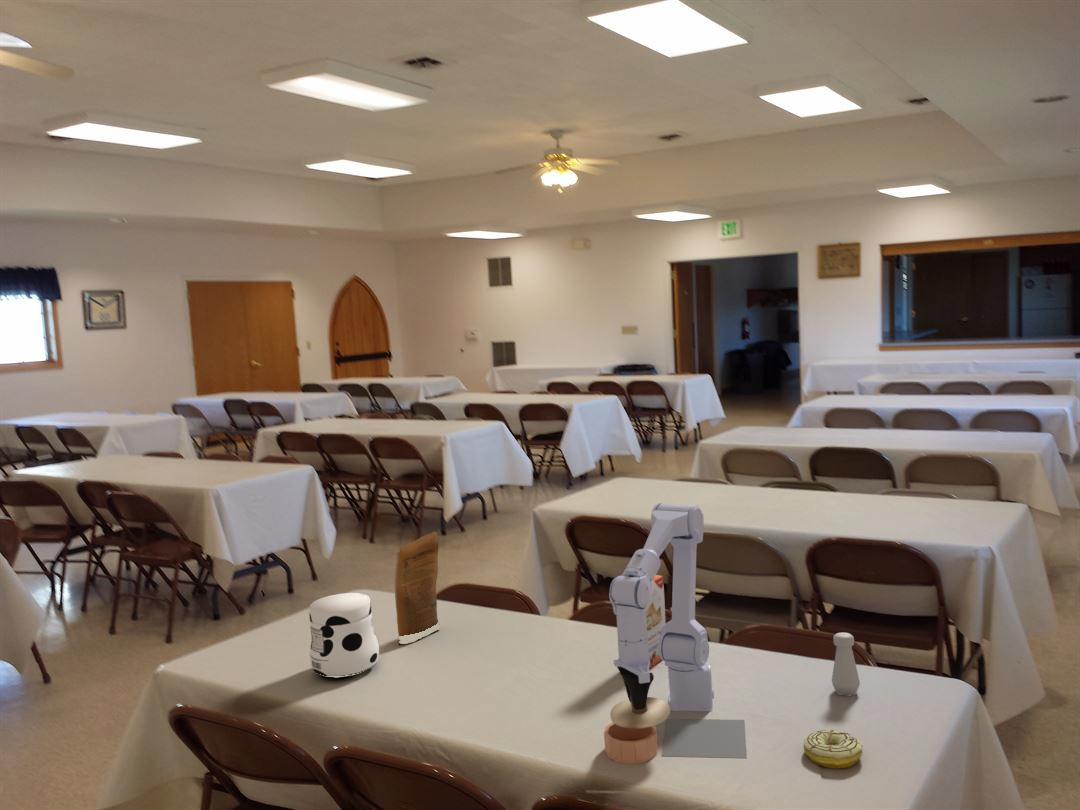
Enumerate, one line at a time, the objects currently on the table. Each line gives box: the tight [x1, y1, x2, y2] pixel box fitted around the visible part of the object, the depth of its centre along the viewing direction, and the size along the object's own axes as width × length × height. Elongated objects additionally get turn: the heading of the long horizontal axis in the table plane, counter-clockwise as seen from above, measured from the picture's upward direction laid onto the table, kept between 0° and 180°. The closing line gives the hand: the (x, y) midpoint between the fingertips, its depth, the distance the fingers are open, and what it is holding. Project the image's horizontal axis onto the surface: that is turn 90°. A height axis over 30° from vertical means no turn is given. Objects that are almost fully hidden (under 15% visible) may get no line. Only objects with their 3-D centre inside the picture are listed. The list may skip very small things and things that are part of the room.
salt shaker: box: [831, 632, 861, 696], centre depth 196 cm, size 6×6×13 cm
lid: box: [610, 695, 671, 729], centre depth 176 cm, size 12×12×4 cm
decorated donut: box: [803, 728, 864, 770], centre depth 169 cm, size 10×11×4 cm
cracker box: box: [615, 574, 667, 670], centre depth 219 cm, size 14×6×21 cm, turn 143°
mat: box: [661, 718, 748, 759], centre depth 180 cm, size 16×16×1 cm
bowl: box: [603, 721, 658, 764], centre depth 177 cm, size 10×10×4 cm
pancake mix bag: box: [394, 531, 439, 637], centre depth 251 cm, size 7×19×28 cm, turn 144°
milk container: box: [308, 592, 380, 676], centre depth 231 cm, size 17×17×18 cm
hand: (637, 704), depth 176 cm, fingers closed on lid, 3 cm apart
